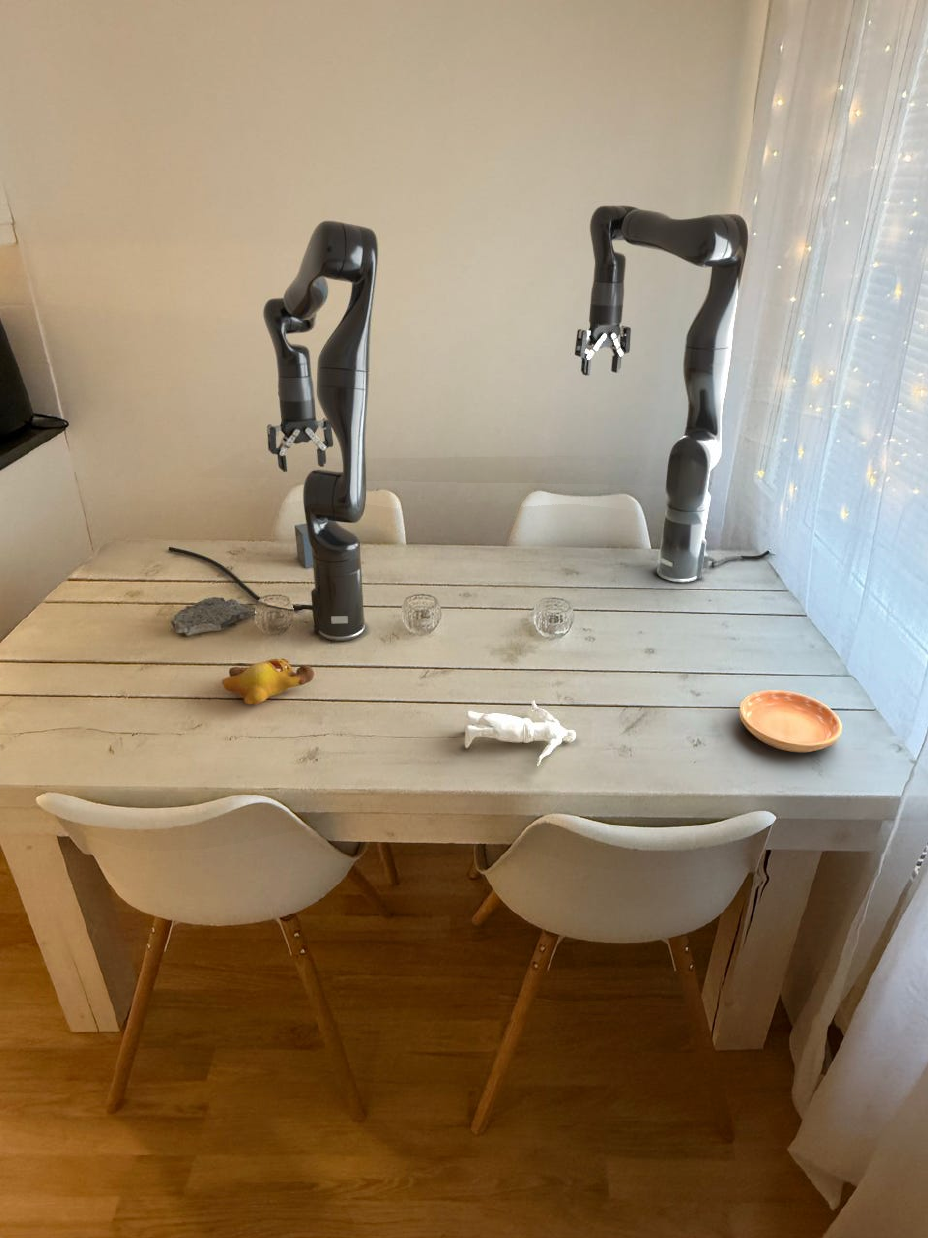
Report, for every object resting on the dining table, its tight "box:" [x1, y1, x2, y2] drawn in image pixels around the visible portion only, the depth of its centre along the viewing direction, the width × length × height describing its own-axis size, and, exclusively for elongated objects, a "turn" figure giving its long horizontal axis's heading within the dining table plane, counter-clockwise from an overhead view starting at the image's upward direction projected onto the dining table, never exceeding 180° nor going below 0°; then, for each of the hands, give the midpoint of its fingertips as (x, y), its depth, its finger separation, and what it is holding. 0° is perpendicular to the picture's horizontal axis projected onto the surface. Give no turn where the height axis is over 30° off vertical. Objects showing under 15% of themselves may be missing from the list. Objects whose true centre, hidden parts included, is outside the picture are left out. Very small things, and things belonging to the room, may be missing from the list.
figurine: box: [464, 699, 577, 767], centre depth 133 cm, size 17×5×18 cm
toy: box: [221, 658, 315, 705], centre depth 144 cm, size 11×6×15 cm
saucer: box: [739, 689, 843, 753], centre depth 136 cm, size 16×16×3 cm
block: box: [294, 523, 313, 569], centre depth 193 cm, size 5×6×8 cm
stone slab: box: [170, 596, 256, 637], centre depth 168 cm, size 12×17×3 cm
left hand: (303, 468), depth 184 cm, fingers open, 8 cm apart
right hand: (600, 373), depth 197 cm, fingers open, 8 cm apart
